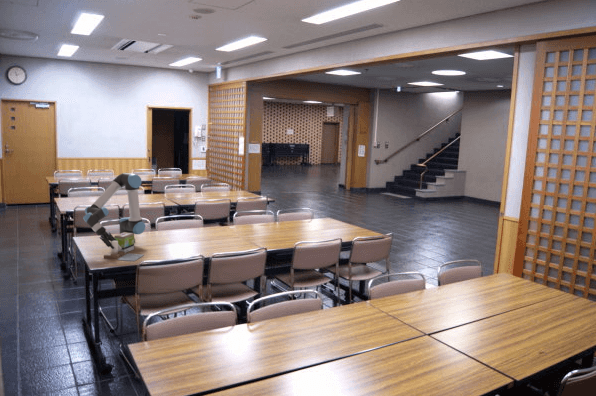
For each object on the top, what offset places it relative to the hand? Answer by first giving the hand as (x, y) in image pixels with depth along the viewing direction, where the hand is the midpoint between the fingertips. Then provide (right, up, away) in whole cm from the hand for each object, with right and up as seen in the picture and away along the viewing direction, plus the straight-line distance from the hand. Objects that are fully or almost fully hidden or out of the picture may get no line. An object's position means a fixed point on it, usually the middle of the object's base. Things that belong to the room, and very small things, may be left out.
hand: (118, 250), depth 376 cm
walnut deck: (-4, -5, +1) cm, 7 cm away
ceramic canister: (-4, -3, +1) cm, 5 cm away
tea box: (-2, -3, +18) cm, 18 cm away
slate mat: (+10, -6, 0) cm, 12 cm away
